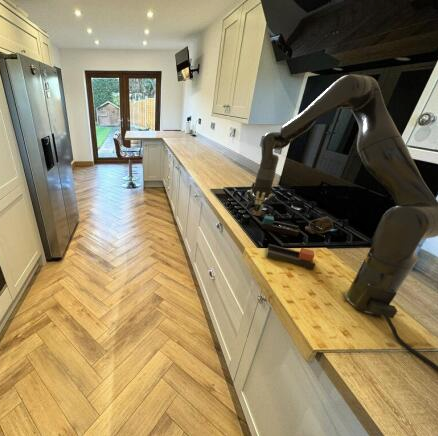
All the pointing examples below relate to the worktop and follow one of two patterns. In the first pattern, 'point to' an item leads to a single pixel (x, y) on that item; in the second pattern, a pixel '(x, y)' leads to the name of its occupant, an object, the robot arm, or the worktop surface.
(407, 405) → the worktop surface
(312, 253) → the red cube
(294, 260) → the rail front
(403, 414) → the worktop surface
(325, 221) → the brown lumpy chunk
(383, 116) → the robot arm
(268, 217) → the teal cube
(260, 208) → the sprinkles bottle
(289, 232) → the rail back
